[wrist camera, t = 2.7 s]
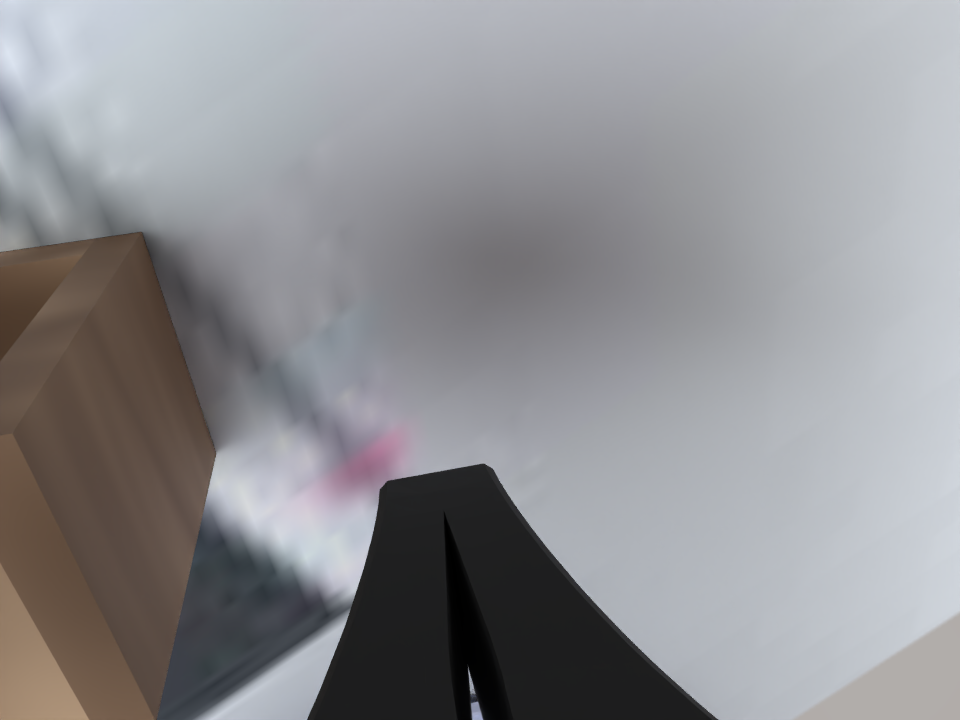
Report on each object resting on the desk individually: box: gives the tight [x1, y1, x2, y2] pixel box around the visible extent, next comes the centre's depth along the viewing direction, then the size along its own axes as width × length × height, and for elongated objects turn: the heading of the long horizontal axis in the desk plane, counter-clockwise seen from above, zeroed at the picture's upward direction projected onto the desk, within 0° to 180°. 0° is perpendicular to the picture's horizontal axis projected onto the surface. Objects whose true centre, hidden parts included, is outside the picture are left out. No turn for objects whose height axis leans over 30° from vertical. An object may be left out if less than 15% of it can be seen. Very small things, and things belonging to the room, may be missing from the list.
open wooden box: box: [0, 232, 216, 720], centre depth 12 cm, size 4×5×6 cm
